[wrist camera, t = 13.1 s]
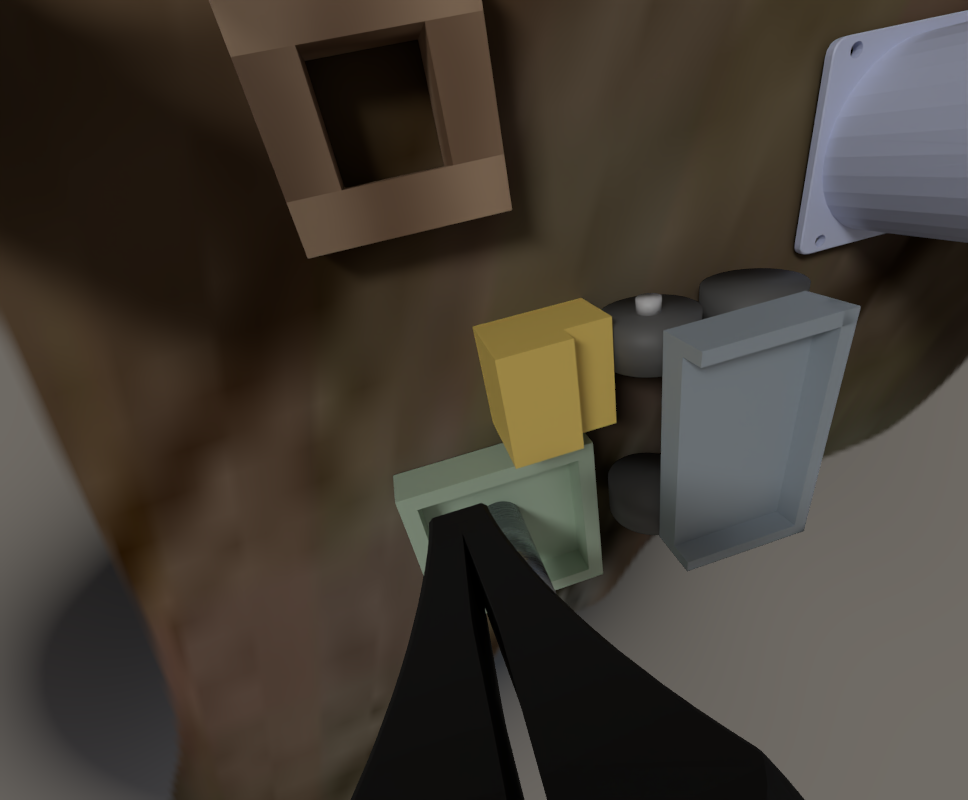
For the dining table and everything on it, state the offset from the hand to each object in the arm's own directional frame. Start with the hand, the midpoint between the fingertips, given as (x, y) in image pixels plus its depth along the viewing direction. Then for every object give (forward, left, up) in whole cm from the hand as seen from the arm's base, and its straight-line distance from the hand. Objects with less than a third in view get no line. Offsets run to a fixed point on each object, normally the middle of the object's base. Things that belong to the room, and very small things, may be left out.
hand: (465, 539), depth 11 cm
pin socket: (-1, -10, -10) cm, 14 cm away
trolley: (-12, +4, -10) cm, 16 cm away
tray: (-2, +10, -10) cm, 14 cm away
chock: (-5, +1, -10) cm, 11 cm away
